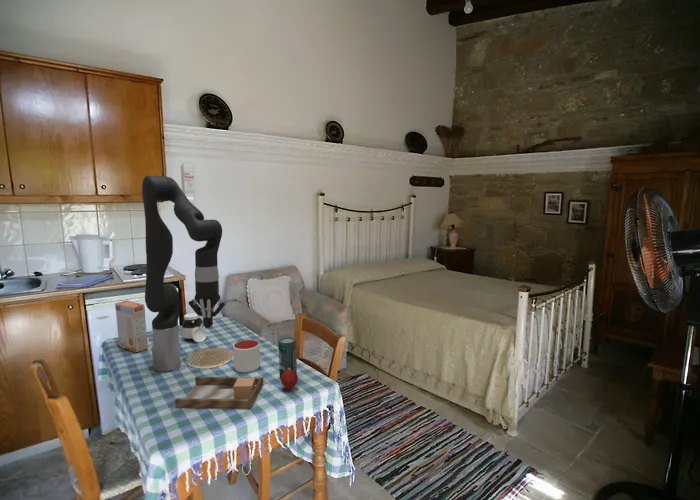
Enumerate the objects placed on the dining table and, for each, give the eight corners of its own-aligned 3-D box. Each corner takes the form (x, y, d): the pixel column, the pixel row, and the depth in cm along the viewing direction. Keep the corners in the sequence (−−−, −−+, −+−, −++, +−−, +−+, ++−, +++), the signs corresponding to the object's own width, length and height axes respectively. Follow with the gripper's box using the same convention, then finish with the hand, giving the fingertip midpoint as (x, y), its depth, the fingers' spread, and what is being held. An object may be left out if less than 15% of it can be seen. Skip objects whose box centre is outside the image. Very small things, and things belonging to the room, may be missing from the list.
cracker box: (148, 349, 172) (145, 304, 169) (135, 353, 167) (131, 307, 164) (131, 342, 180) (128, 299, 177) (118, 347, 175) (114, 302, 172)
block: (234, 399, 129) (233, 386, 129) (238, 390, 135) (237, 377, 135) (252, 398, 130) (251, 385, 129) (255, 389, 136) (255, 377, 135)
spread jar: (191, 334, 190) (190, 311, 189) (213, 335, 189) (211, 312, 187) (177, 343, 179) (175, 319, 177) (200, 344, 177) (198, 320, 175)
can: (282, 374, 147) (280, 337, 145) (297, 374, 147) (296, 337, 145) (278, 382, 141) (277, 343, 139) (295, 382, 141) (293, 343, 139)
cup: (253, 375, 147) (252, 350, 146) (229, 372, 149) (228, 348, 148) (264, 363, 157) (263, 340, 155) (241, 361, 159) (240, 338, 157)
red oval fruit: (282, 385, 139) (281, 364, 138) (298, 384, 139) (297, 363, 138) (280, 393, 133) (280, 371, 132) (297, 392, 134) (296, 371, 133)
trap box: (175, 408, 124) (175, 399, 124) (196, 384, 140) (196, 376, 140) (250, 409, 123) (250, 401, 123) (263, 385, 139) (263, 377, 139)
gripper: (182, 280, 127) (184, 330, 130) (221, 282, 126) (222, 332, 129) (192, 275, 134) (194, 322, 137) (230, 276, 134) (230, 324, 136)
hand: (208, 327), depth 133 cm, fingers closed
